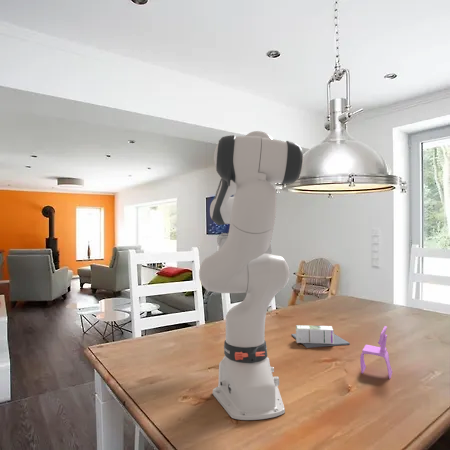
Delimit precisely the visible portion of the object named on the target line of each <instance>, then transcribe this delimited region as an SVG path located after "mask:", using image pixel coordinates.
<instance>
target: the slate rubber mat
mask: <svg viewBox="0 0 450 450" xmlns="http://www.w3.org/2000/svg"><path fill="white" fill-rule="evenodd" d="M291 337H293V338H294V339H295V340H296V333H291ZM301 345H303V346H304V347H305V348H306V349H309V348H311V349H312V348H323V347H324V348H325V347H336V346H348V345H350V342H349V341H347V340H346V339H344V338H342V337H340V336H339V335H337V334H335V333H334V344H319V343H301Z"/></svg>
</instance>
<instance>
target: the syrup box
mask: <svg viewBox="0 0 450 450" xmlns="http://www.w3.org/2000/svg"><path fill="white" fill-rule="evenodd" d="M334 331H335V330H334V329H333V326H332V325H310V324H309V325H307V324H306V325H304V324H303V325H302V324H301V325H300V324H297V325H295V334H296V339H295V342H296V343H297V344H302V343H319V344H334V334H335V332H334Z"/></svg>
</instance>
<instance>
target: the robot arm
mask: <svg viewBox="0 0 450 450" xmlns="http://www.w3.org/2000/svg"><path fill="white" fill-rule="evenodd" d="M304 160H305V158H304V153H303V149H302V147H301V146H300V145H299V144H298V143H296V142H294V141H291V140H286V141H284V140H280V139H276V138H275V139H274V138H273V137H272V136H271V135H270V134H268V133H267V132H264V131H261V130H260V131H259V130H255V131H251V132H249V133H247V134H245V135H242V136H236V135H234V134H233V135H232V134H231V135H226V136H222V137H220V139H219V140H218V143H217V144H216V147H215V149H214V152H213V163H214V166H215V169H216V173H217V174H218V175H219V177H220V178H221V179H220V181H219V183H218V186H217V188H216V192H215V194H214V198H212V201H211V203H210V206H209V216H210V218H211V221H213V223H215V224H216V225H217V226H223V225H229V229H228V232H227V233H226V232H223V233H221V234H218V236H217V238H216V239H217V244H218V247H217V251H215V252H214V253H212V254H211V255H209V256H207V257H205V258H204V259H203V261H202V262H201V264H200V267H199V272H198V277H199V281H200V283H201V285H202V287H203V288H204V289H205V290H206V291H207V292H212V293H219V294H240V293H241V294H242V293H244V294H246V295H245V297H244V299H243V300H242V301H241V302H240V303H238V304H236V305H233V306H232V307H231V308H230V309H229V310H228V312H226V313H227V314H225V340H224V342H223V343H224V345H223V352H224V353H223V354H224V356H223V358H222V360H220V362H218V386H216V387H215V388H213V389H212V395H213V396H214V398H215V399H216V400H217V401H218V403H219V404H220V405H221V407H223V408H224V410H225V412H226V413H227V414H228V416H229V417H231V418H232V419H235V420H239V421H240V420H241V421H256V420H266V419H267V420H268V419H273V418H276V417H279V416H281V415H283V414H285V413H286V410H285V405H284V402H283V399H282V396H281V392H280V389H279V386H280V378H279V376H273V375H274V374H273V373H274V372H275V367H274V366H271V364H270V358H269V357H268V346H267V341H266V340H265V339H266V338H265V337H266V336H265V333H266V332H265V331H266V330H265V329H266V328H265V327H266V316H267V312H268V309H269V306H270V304H271V302H272V301H273V299H274V298H275V297H276V295H277V294H278V293H279V292H281V290H283V289H284V288H285V287H286V286H287V284H288V282H289V281H290V276H291V275H290V274H291V273H290V267H289V264H288V262H287V261H286V259H285V258H284V257H283V256H282V255H277V254H272V245H271V243H272V236H273V232H274V227H275V221H276V215H277V193H276V192H277V191H276V188H275V186H274V185H273V184H281V185H287V184H288V185H290V184H293V183H295V182H296V181H298V179H299V177H300V175H301V173H302V172H303V168H304V164H305V161H304Z"/></svg>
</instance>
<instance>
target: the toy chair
mask: <svg viewBox="0 0 450 450" xmlns="http://www.w3.org/2000/svg"><path fill="white" fill-rule="evenodd" d="M387 329H388V326H387V325H384V327H383V329H382V330H381V333H380V335H379V338H378V339H379V340H378V342H377V343H378V345H379V346H375V345H371V344H365V345H364V347H363V348H362V350H361V351H362V352H361V354H360V359H359V360H360V371H361V372H360V373H361V374H364V373H365V370H366V369H367V365H366V363H365V355H373V356H378V357H382V358H383V359H384V360H385V364H386V367H387V368H386V369H387V373H388V379H391V378H392V375H393V370H392V367H391V363H390V355H389V352H388V350H387V349H388V348H387V347H386V346H387V338H388V334H386V331H387Z"/></svg>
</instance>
